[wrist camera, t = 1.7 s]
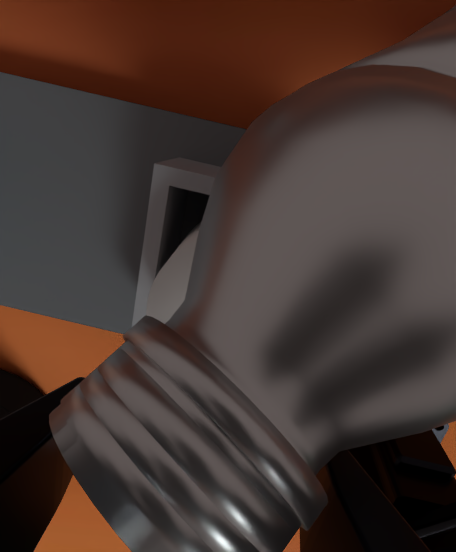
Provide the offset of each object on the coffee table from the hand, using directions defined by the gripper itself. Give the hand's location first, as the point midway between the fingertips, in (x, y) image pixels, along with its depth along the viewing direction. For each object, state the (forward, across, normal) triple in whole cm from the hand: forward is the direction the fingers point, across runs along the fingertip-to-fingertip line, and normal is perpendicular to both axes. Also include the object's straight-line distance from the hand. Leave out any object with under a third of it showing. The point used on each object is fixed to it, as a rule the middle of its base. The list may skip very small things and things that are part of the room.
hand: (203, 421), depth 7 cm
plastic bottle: (+10, -10, -12) cm, 19 cm away
